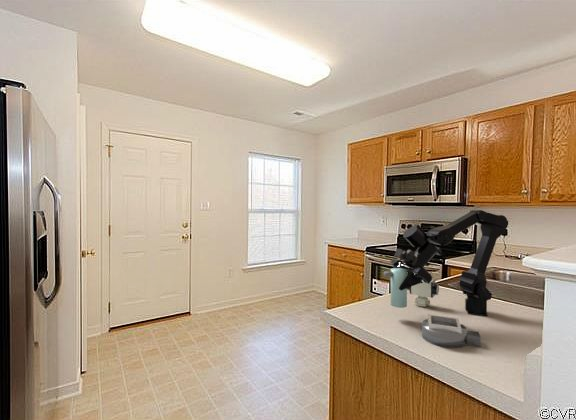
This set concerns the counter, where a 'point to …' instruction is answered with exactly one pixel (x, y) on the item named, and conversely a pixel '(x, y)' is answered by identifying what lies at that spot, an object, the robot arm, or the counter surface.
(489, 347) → the counter surface
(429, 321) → the grey socket base
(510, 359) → the counter surface
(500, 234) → the robot arm
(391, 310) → the counter surface
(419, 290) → the pneumatic valve
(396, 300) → the cylinder
